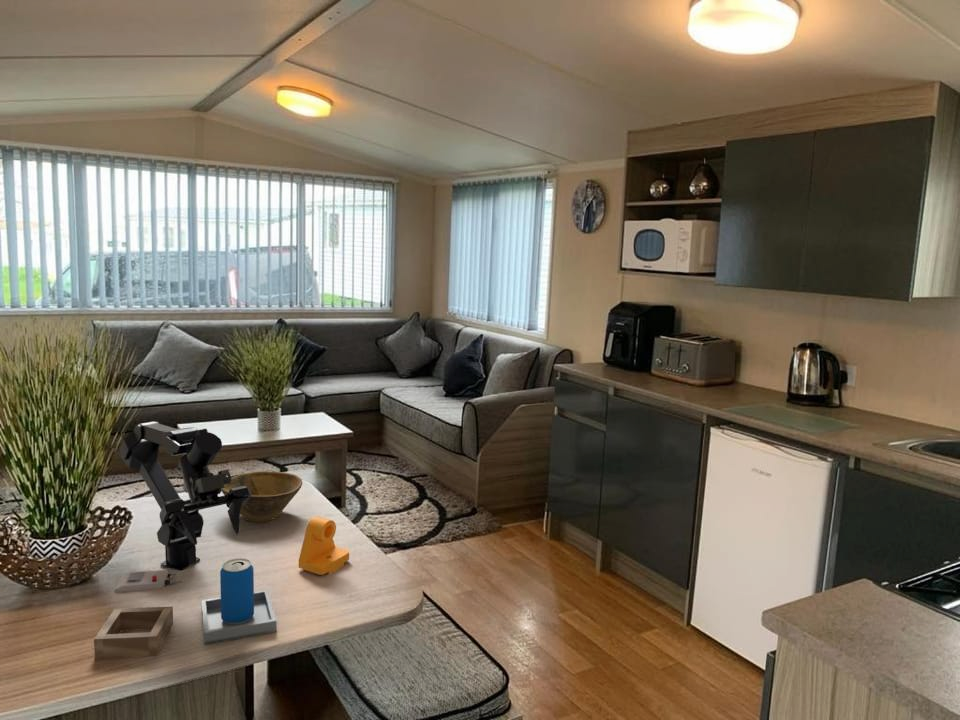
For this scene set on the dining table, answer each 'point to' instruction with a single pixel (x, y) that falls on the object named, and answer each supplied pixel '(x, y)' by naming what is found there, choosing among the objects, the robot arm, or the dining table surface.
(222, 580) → the beverage can
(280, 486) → the bowl
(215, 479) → the robot arm
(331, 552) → the bracket
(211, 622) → the tray
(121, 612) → the socket block
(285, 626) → the dining table surface
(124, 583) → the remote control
